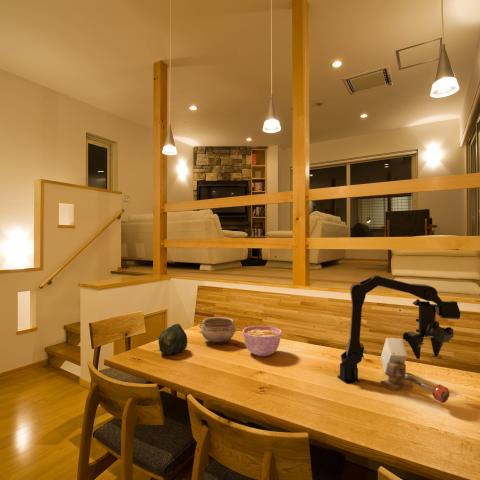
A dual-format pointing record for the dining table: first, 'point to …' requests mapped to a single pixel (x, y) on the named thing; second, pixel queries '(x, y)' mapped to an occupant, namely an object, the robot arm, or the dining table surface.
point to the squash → (172, 340)
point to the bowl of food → (262, 339)
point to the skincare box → (393, 352)
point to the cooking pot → (218, 329)
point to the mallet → (432, 389)
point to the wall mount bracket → (396, 376)
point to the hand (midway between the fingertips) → (427, 357)
